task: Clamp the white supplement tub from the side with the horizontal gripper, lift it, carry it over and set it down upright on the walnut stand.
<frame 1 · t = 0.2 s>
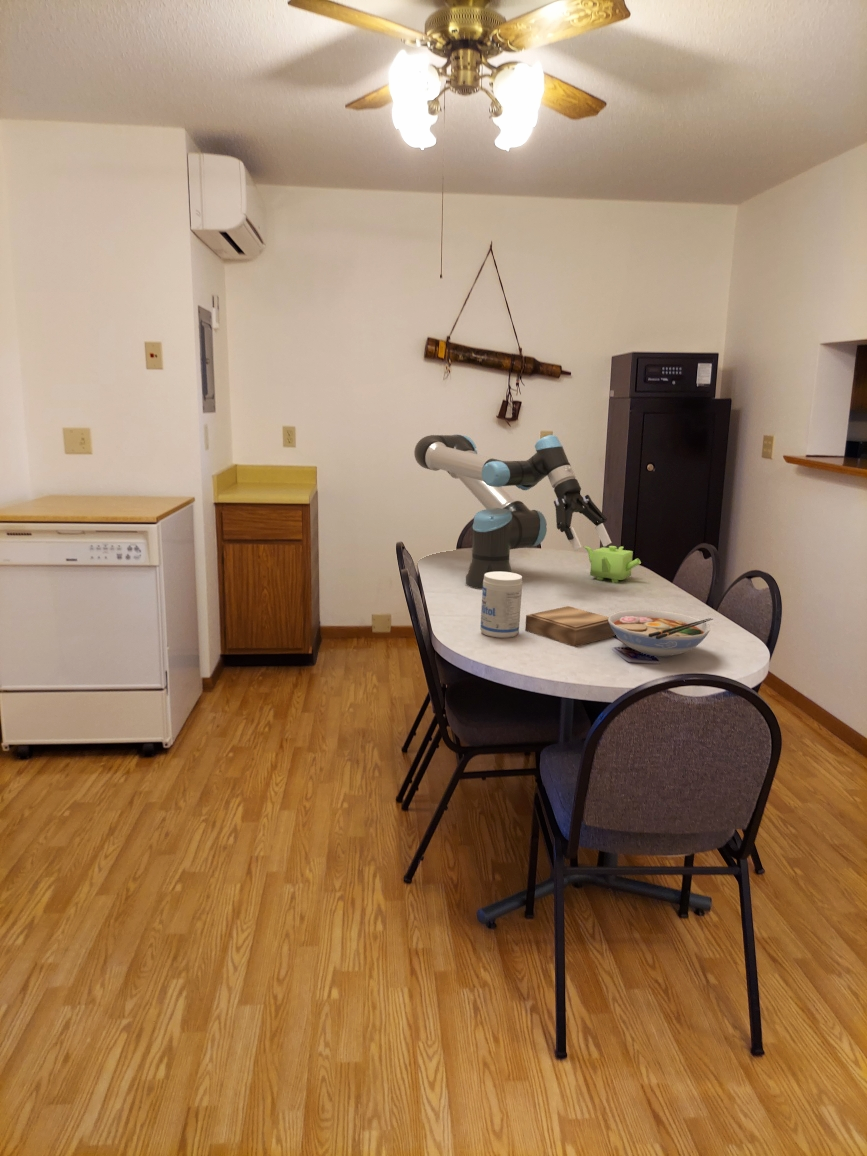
hand: (593, 547, 226), 15 cm above the table, tool tilted 35°, fingers open, 13 cm apart
ramen bowl: (655, 653, 179), on the table
stand: (570, 632, 193), on the table
supplement tub: (499, 634, 191), on the table
kettle: (609, 579, 256), on the table
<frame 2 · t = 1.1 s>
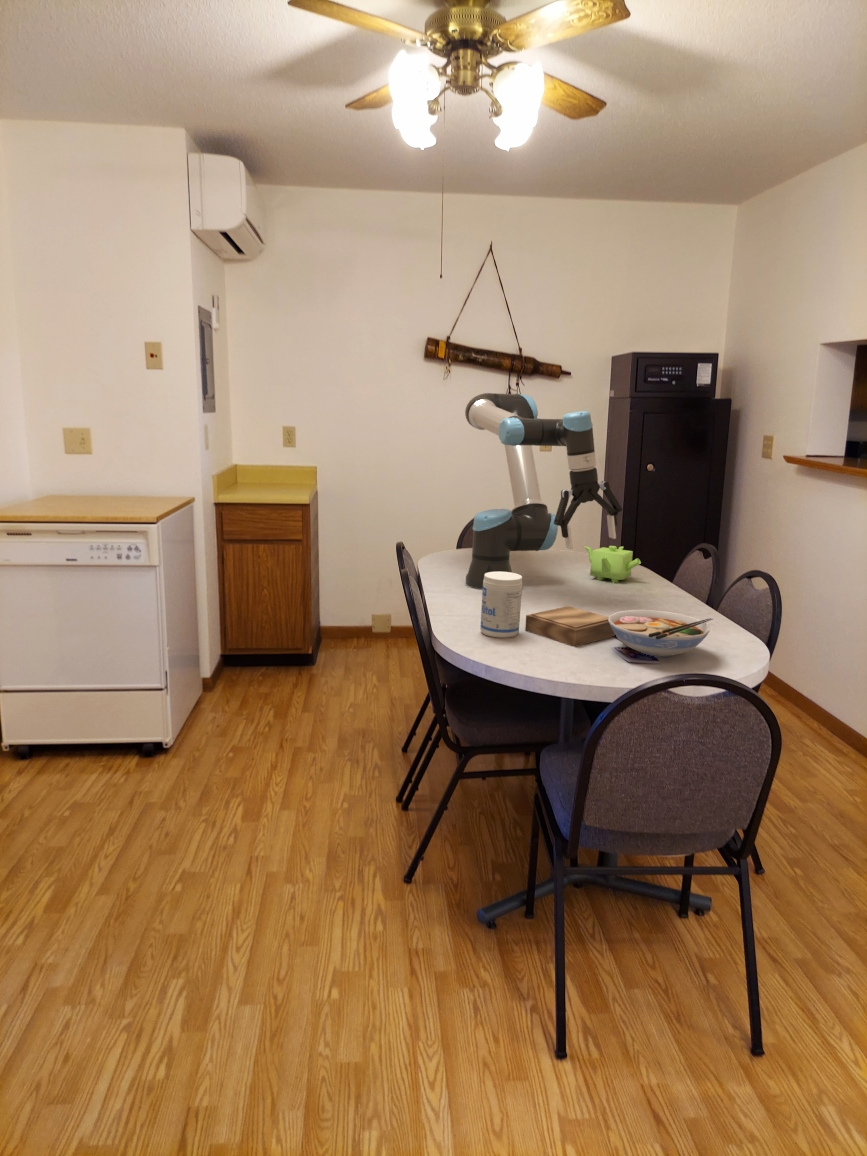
hand: (591, 543, 219), 18 cm above the table, tool pointing down, fingers open, 13 cm apart
nothing on the table moved.
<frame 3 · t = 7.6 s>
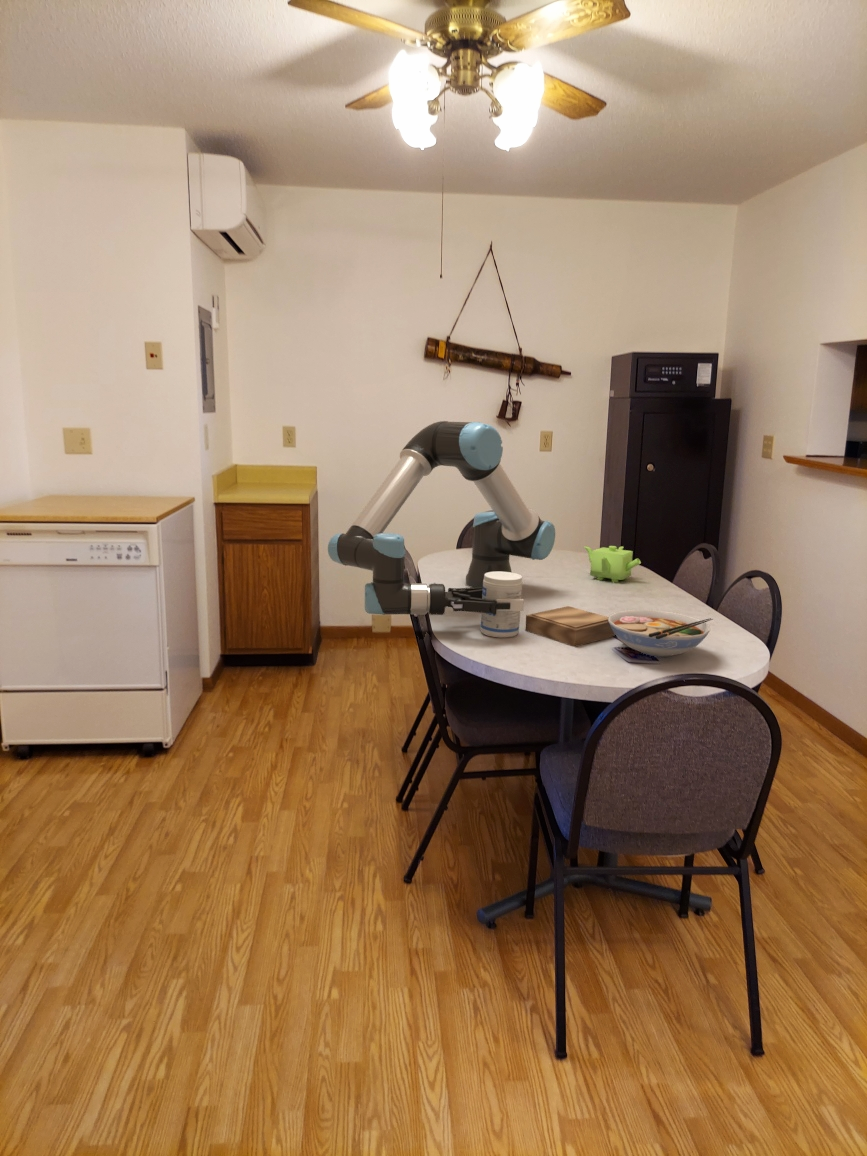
hand: (519, 599, 189), 9 cm above the table, tool horizontal, fingers closed on supplement tub, 9 cm apart
supplement tub: (499, 633, 191), on the table, touching gripper
everything else where it was.
when the fingers open (13 cm above the table, at t = 12.6 s): supplement tub stays where it is, resting on stand.
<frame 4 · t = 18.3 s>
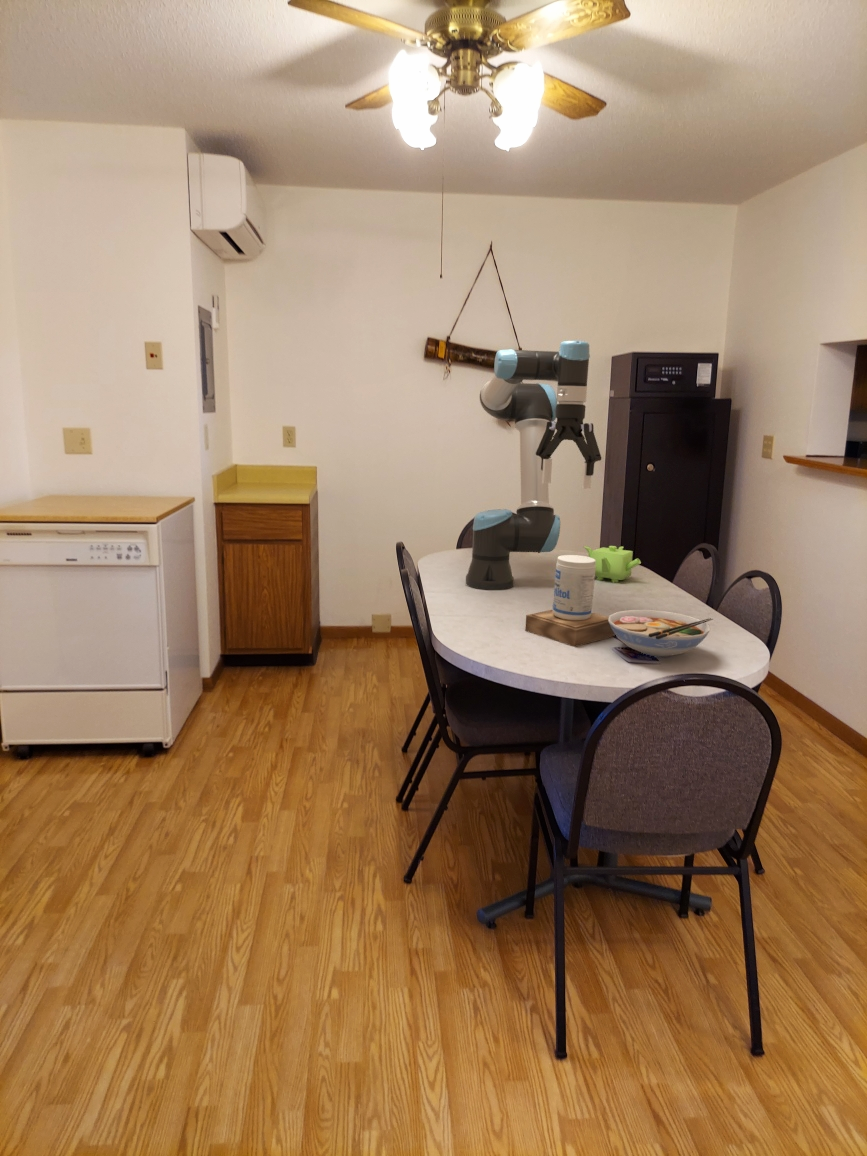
hand: (565, 485, 204), 35 cm above the table, tool pointing down, fingers open, 13 cm apart
supplement tub: (571, 617, 192), point 4 cm above the table, touching stand
everything else where it was.
at the end: supplement tub inside the target area on the stand (0.1 cm from its centre), point 4.1 cm above the stand's base; supplement tub tilted 0°; the gripper is holding nothing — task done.
